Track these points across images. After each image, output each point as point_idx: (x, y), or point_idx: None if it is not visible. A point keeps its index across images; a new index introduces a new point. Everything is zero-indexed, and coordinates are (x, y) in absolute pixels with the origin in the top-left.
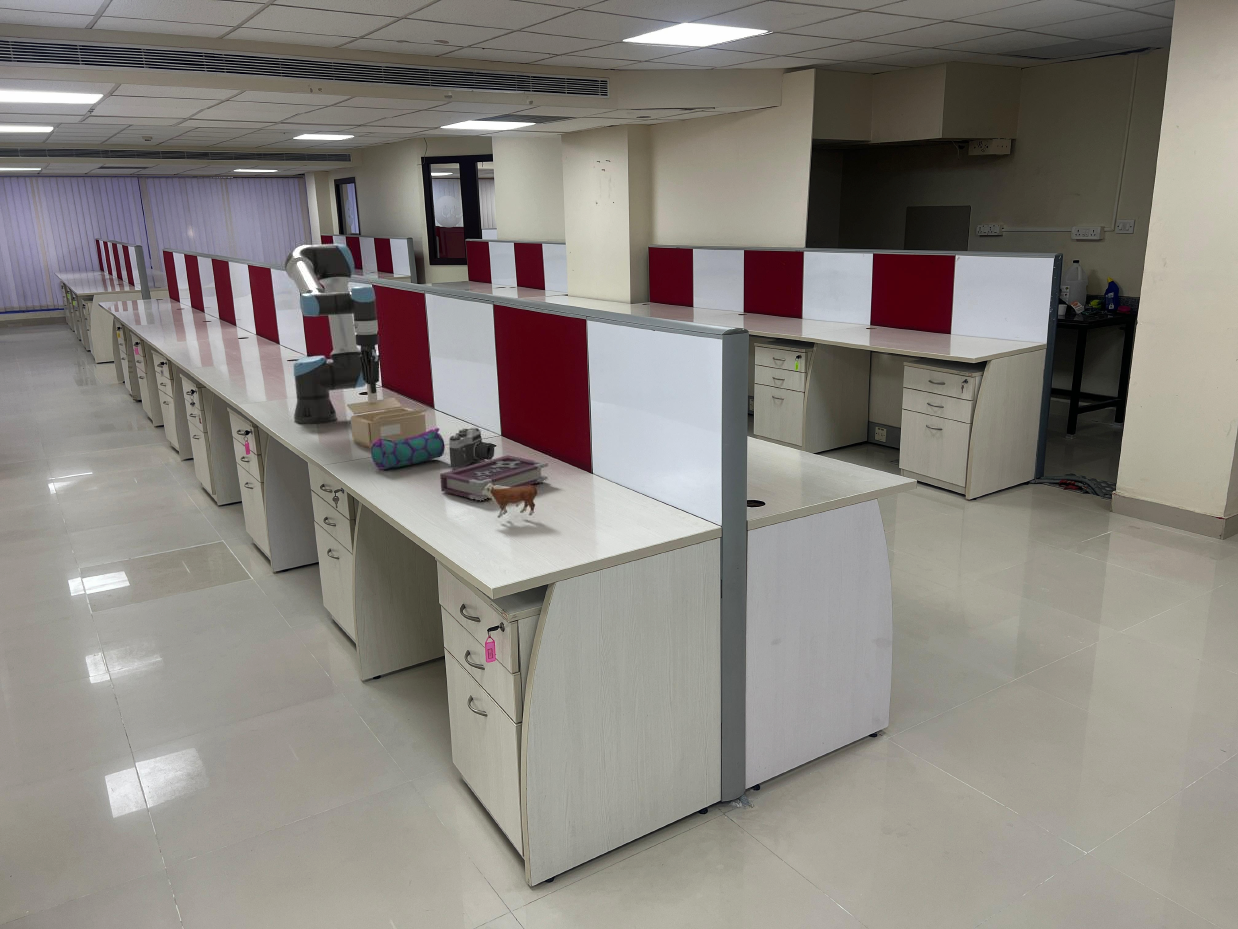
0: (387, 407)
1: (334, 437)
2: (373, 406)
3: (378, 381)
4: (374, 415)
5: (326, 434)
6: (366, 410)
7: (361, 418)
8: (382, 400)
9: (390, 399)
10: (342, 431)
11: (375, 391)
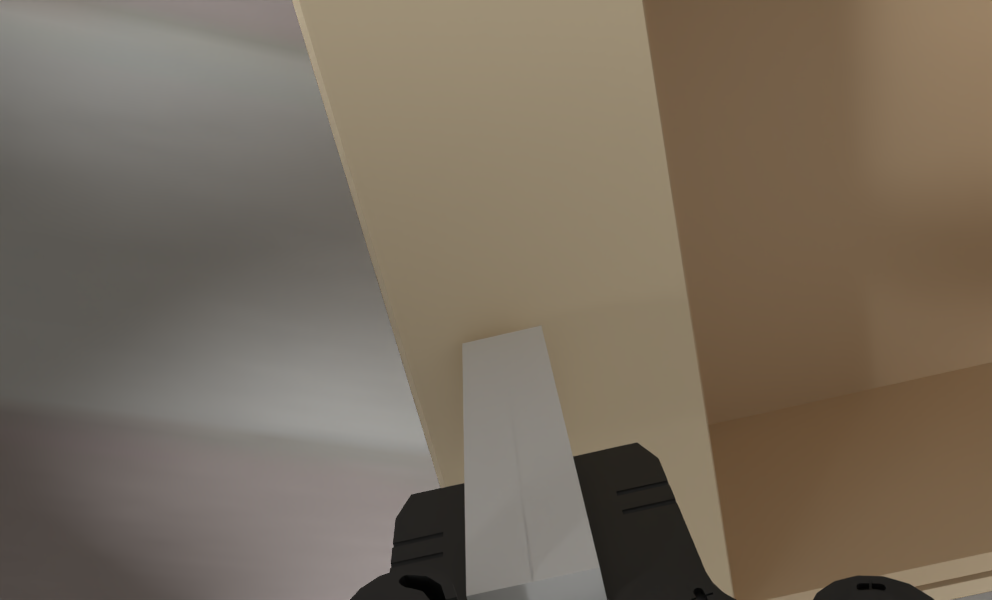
0: (641, 151)
1: (344, 556)
2: (598, 382)
3: (910, 596)
4: None
5: (177, 596)
6: (691, 480)
7: None
8: (405, 210)
9: (365, 32)
10: (96, 467)
11: (659, 477)
